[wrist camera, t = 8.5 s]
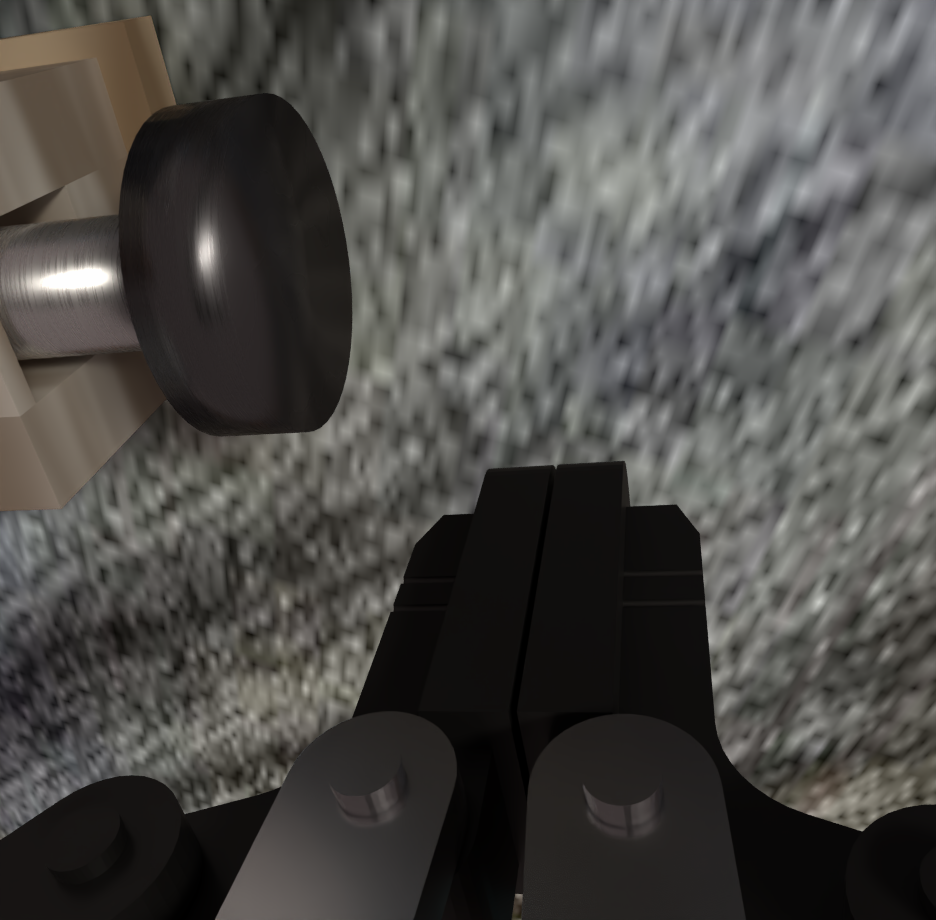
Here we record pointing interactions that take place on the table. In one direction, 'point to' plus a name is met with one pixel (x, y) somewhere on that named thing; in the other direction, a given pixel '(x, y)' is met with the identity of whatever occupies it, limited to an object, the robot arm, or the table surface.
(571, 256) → the table surface
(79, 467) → the block
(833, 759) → the table surface
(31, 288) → the shaft
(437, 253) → the table surface
